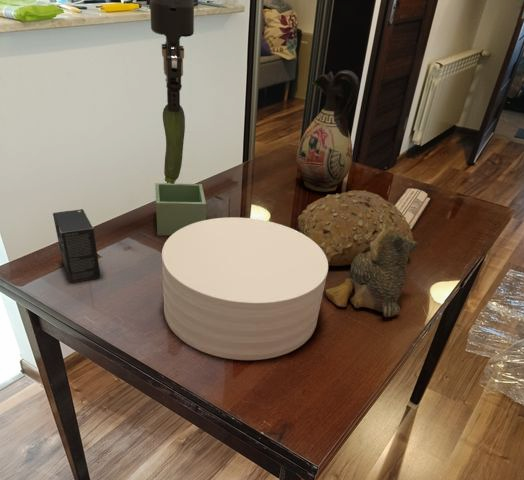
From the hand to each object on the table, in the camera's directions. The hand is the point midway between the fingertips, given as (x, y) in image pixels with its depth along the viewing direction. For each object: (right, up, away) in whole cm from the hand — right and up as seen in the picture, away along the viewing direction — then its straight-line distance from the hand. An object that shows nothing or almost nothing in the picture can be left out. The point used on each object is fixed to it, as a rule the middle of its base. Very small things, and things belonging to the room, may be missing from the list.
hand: (173, 107), depth 95 cm
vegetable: (-2, -12, +10) cm, 15 cm away
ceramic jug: (+34, -1, +43) cm, 55 cm away
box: (-18, -32, -1) cm, 37 cm away
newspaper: (+57, -9, +37) cm, 69 cm away
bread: (+37, -24, +17) cm, 47 cm away
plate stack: (+14, -40, -6) cm, 43 cm away
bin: (-2, -18, +17) cm, 25 cm away
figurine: (+38, -37, +1) cm, 53 cm away
